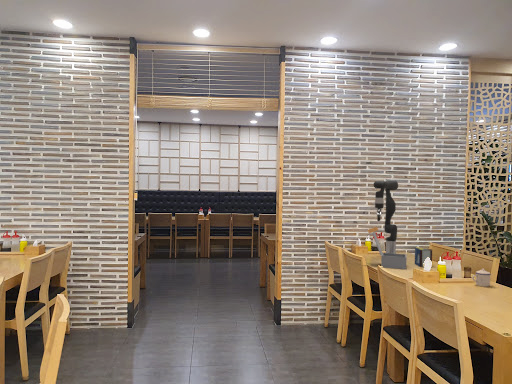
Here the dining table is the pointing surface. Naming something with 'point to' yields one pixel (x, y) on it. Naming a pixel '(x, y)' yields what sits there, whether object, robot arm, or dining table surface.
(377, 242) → the carton lid
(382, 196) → the robot arm
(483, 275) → the teacup with lid
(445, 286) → the dining table surface
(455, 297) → the dining table surface
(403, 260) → the carton
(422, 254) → the protein box
